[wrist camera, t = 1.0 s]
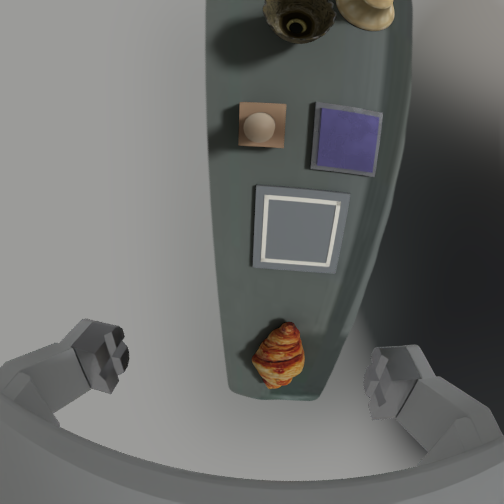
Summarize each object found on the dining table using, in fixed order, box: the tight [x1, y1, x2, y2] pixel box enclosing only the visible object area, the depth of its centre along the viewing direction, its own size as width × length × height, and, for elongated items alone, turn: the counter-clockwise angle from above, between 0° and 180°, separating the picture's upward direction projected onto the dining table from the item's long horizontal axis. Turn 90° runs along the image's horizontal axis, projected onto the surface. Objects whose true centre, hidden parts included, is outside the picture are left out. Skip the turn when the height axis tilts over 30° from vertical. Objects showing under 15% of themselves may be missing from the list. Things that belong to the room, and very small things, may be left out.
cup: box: [263, 0, 336, 44], centre depth 23 cm, size 8×7×8 cm
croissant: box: [252, 322, 305, 389], centre depth 52 cm, size 21×10×8 cm, turn 174°
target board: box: [253, 185, 350, 274], centre depth 41 cm, size 13×13×1 cm
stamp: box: [238, 102, 286, 148], centre depth 31 cm, size 6×6×8 cm
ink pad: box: [310, 102, 383, 177], centre depth 33 cm, size 9×9×2 cm
